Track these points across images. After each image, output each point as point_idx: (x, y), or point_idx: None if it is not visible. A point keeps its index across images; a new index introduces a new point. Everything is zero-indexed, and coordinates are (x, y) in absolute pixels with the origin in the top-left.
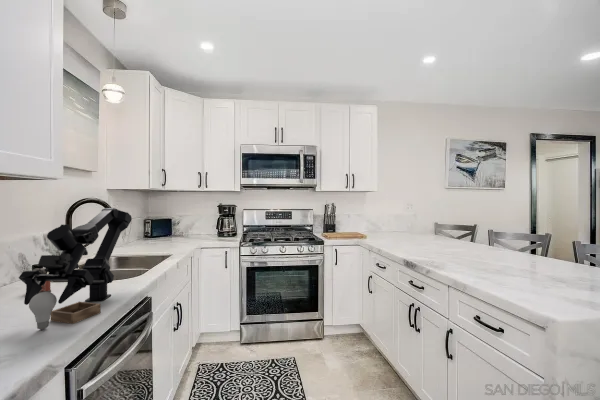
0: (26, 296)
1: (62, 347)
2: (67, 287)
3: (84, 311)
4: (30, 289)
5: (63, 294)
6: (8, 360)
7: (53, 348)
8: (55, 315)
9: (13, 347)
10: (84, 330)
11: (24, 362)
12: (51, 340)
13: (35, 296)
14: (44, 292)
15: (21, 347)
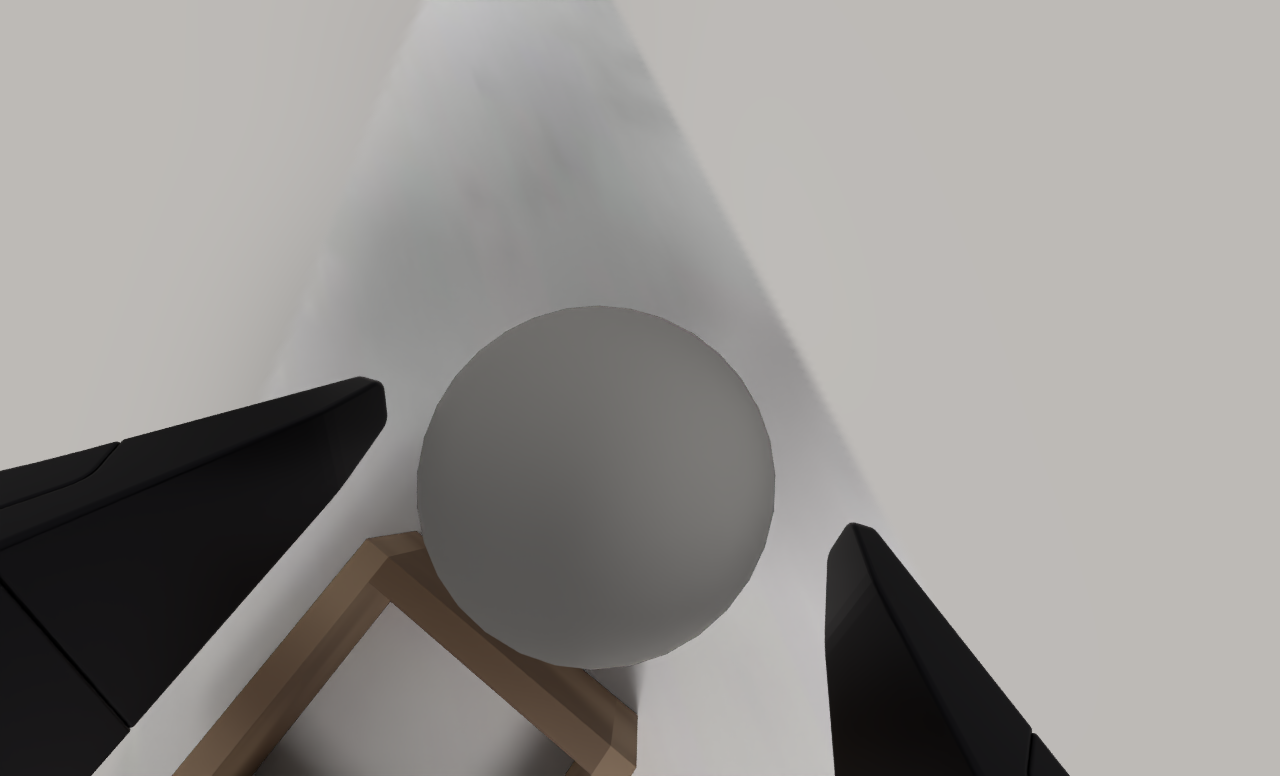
0: (924, 614)
1: (393, 108)
2: (33, 487)
3: (286, 649)
4: (983, 774)
5: (241, 418)
6: (628, 54)
7: (440, 114)
8: (578, 695)
9: (685, 216)
10: (306, 336)
11: (535, 5)
12: (488, 238)
13: (678, 368)
14: (553, 457)
15: (635, 198)
